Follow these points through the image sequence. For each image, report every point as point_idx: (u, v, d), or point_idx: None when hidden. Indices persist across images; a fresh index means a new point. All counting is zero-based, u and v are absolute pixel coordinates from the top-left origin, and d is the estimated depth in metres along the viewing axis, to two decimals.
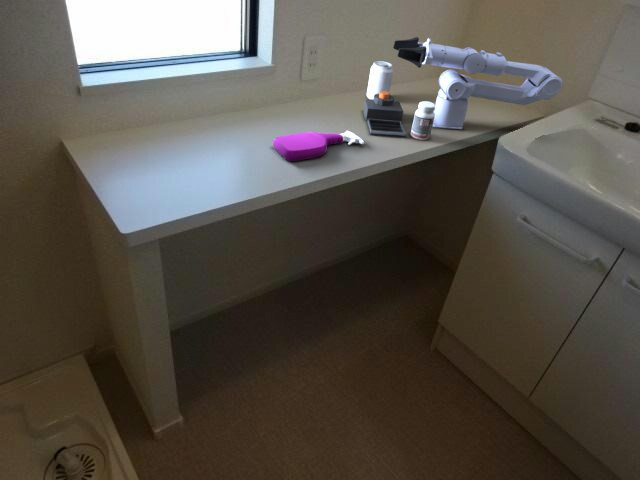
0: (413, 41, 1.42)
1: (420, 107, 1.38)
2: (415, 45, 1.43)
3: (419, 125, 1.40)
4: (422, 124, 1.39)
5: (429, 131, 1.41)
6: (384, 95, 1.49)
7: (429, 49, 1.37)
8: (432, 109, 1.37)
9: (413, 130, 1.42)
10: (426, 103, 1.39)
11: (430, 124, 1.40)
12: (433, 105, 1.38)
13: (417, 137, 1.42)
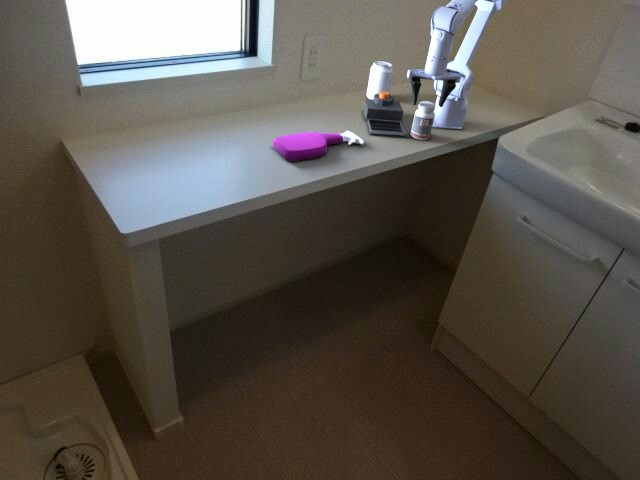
0: None
1: (420, 107, 1.38)
2: None
3: (419, 125, 1.40)
4: (422, 124, 1.39)
5: (429, 131, 1.41)
6: (384, 95, 1.49)
7: (447, 78, 1.32)
8: (432, 109, 1.37)
9: (413, 130, 1.42)
10: (426, 103, 1.39)
11: (430, 124, 1.40)
12: (433, 105, 1.38)
13: (417, 137, 1.42)
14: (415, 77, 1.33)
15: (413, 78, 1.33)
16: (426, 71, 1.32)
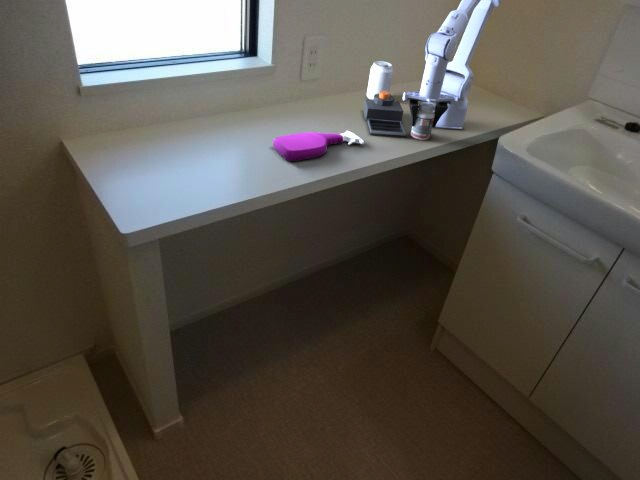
0: None
1: (420, 107, 1.38)
2: None
3: (419, 125, 1.40)
4: (422, 124, 1.39)
5: (429, 131, 1.41)
6: (384, 95, 1.49)
7: (442, 100, 1.36)
8: (432, 109, 1.37)
9: (413, 130, 1.42)
10: (426, 103, 1.39)
11: (430, 124, 1.40)
12: (433, 105, 1.38)
13: (417, 137, 1.42)
14: (413, 100, 1.37)
15: (411, 101, 1.37)
16: (421, 94, 1.35)
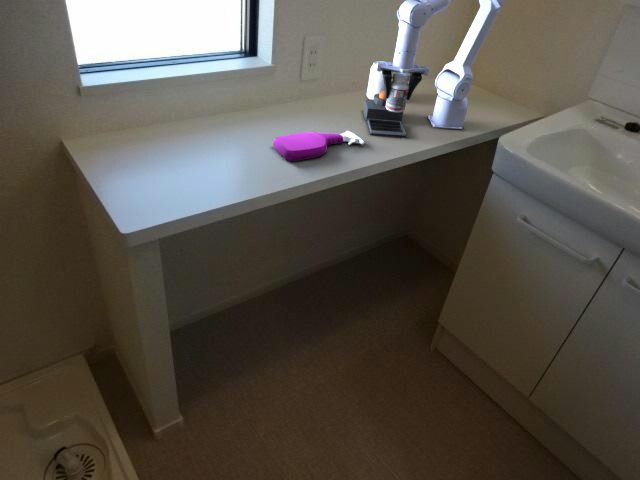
0: None
1: (394, 78, 1.35)
2: None
3: (393, 97, 1.37)
4: (396, 96, 1.36)
5: (404, 103, 1.38)
6: (384, 95, 1.49)
7: (415, 70, 1.33)
8: (406, 80, 1.34)
9: (387, 102, 1.39)
10: (400, 74, 1.36)
11: (404, 96, 1.37)
12: (407, 76, 1.35)
13: (391, 109, 1.39)
14: (386, 70, 1.34)
15: (384, 71, 1.34)
16: (394, 64, 1.32)
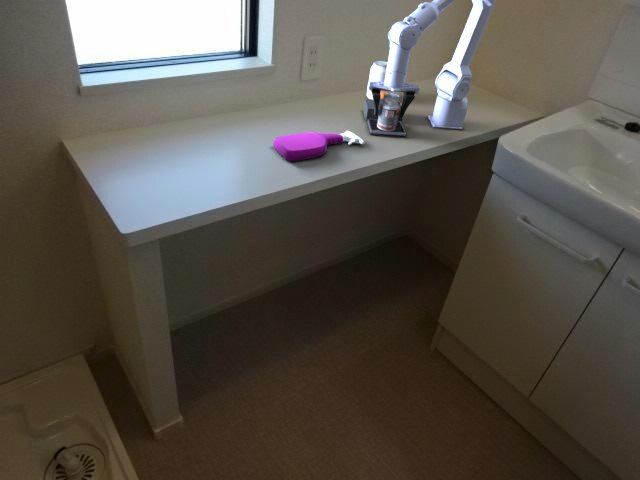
0: None
1: (385, 98, 1.39)
2: None
3: (385, 116, 1.41)
4: (387, 116, 1.40)
5: (395, 122, 1.42)
6: None
7: (406, 89, 1.36)
8: (397, 100, 1.38)
9: (379, 121, 1.43)
10: (391, 94, 1.40)
11: (395, 115, 1.41)
12: (398, 96, 1.39)
13: (383, 128, 1.43)
14: (375, 89, 1.37)
15: (373, 90, 1.37)
16: (385, 83, 1.36)
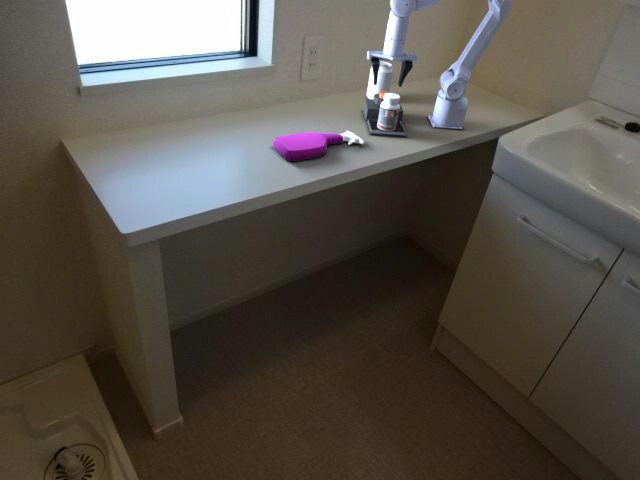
0: None
1: (385, 98, 1.39)
2: None
3: (385, 116, 1.41)
4: (387, 116, 1.40)
5: (395, 122, 1.42)
6: None
7: (404, 58, 1.41)
8: (397, 100, 1.38)
9: (379, 121, 1.43)
10: (391, 94, 1.40)
11: (395, 115, 1.41)
12: (398, 96, 1.39)
13: (383, 128, 1.43)
14: (374, 58, 1.42)
15: (372, 59, 1.41)
16: (384, 52, 1.40)
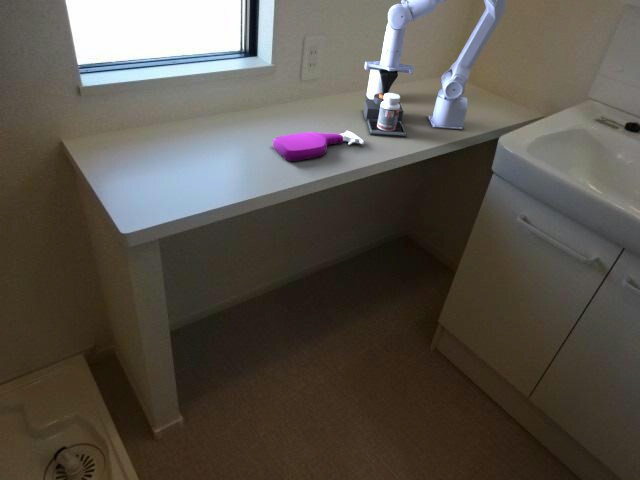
0: None
1: (385, 98, 1.39)
2: None
3: (385, 116, 1.41)
4: (387, 116, 1.40)
5: (395, 122, 1.42)
6: None
7: (401, 69, 1.44)
8: (397, 100, 1.38)
9: (379, 122, 1.43)
10: (391, 94, 1.40)
11: (395, 115, 1.41)
12: (398, 96, 1.39)
13: (383, 128, 1.43)
14: (383, 69, 1.45)
15: (381, 70, 1.45)
16: (381, 63, 1.44)
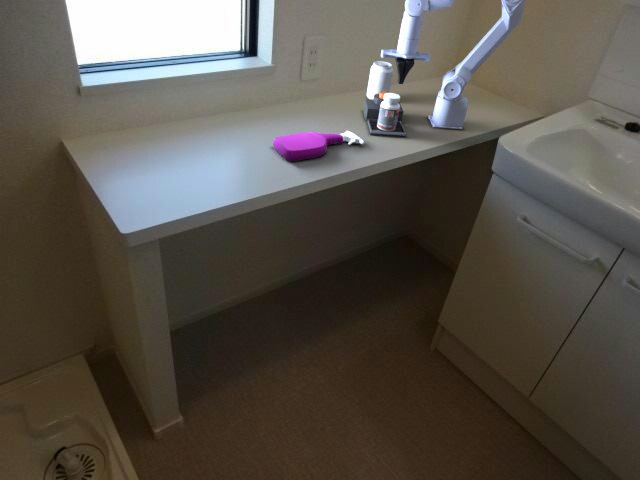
0: None
1: (385, 98, 1.39)
2: None
3: (385, 116, 1.41)
4: (387, 116, 1.40)
5: (395, 122, 1.42)
6: None
7: (417, 57, 1.43)
8: (397, 100, 1.38)
9: (379, 121, 1.43)
10: (391, 94, 1.40)
11: (395, 115, 1.41)
12: (398, 96, 1.39)
13: (383, 128, 1.43)
14: (400, 57, 1.44)
15: (398, 58, 1.44)
16: (398, 51, 1.43)
